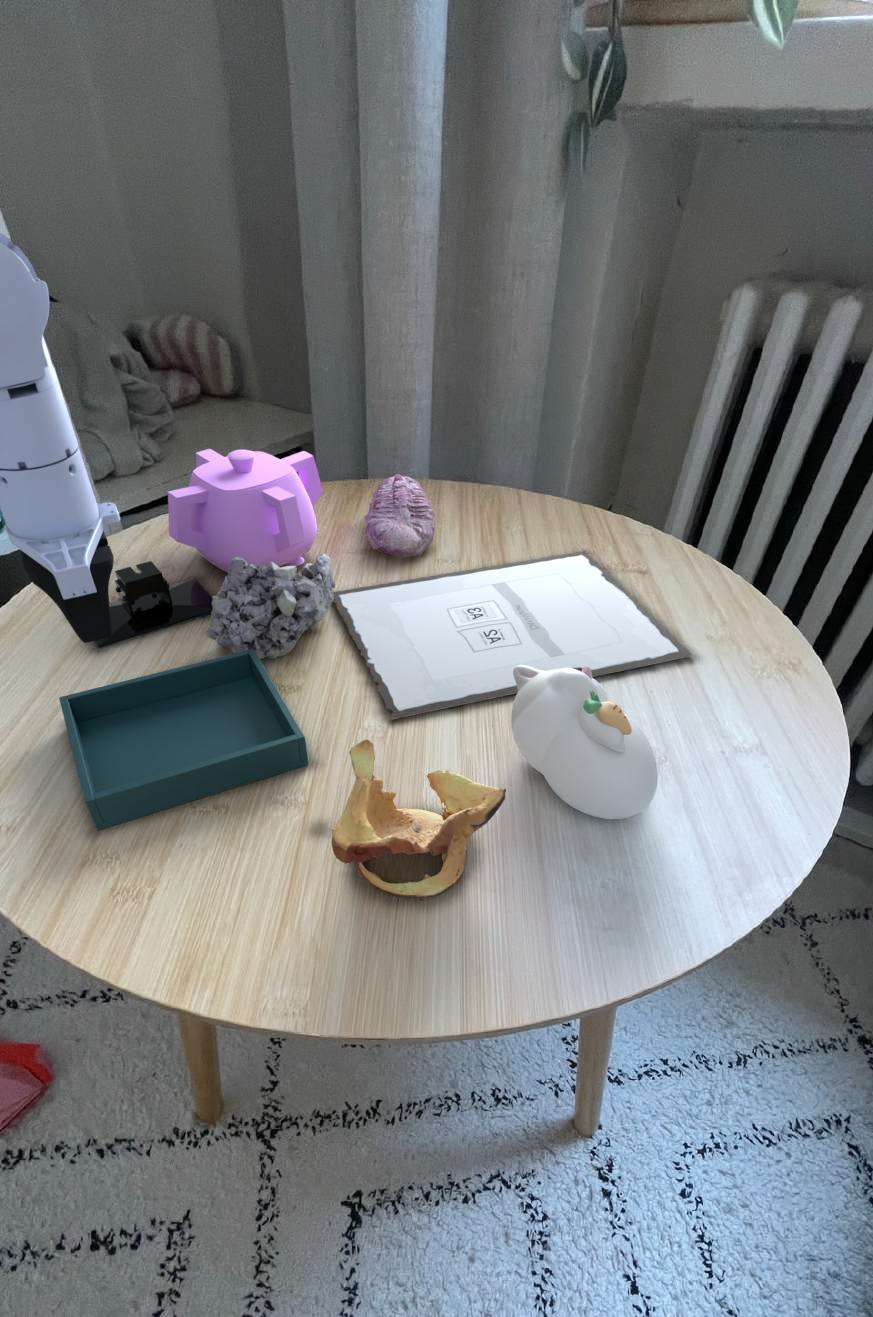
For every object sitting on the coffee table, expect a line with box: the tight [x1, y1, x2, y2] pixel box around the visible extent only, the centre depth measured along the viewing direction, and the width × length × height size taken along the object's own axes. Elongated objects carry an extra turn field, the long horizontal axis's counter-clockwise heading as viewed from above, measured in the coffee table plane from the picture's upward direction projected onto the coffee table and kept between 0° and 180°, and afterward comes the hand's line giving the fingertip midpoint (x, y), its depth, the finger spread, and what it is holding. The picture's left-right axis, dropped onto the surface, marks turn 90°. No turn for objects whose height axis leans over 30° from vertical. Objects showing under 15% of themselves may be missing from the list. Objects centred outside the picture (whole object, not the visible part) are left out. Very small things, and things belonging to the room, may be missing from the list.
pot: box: [167, 448, 324, 573], centre depth 81 cm, size 18×17×12 cm
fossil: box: [363, 473, 436, 558], centre depth 88 cm, size 8×14×5 cm, turn 4°
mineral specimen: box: [203, 552, 336, 660], centre depth 72 cm, size 12×9×10 cm
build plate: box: [93, 560, 213, 650], centre depth 75 cm, size 12×7×5 cm, turn 126°
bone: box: [331, 738, 507, 902], centre depth 52 cm, size 12×10×8 cm
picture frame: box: [332, 550, 694, 720], centre depth 76 cm, size 22×1×30 cm
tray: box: [58, 649, 309, 831], centre depth 62 cm, size 16×13×3 cm
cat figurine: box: [510, 665, 659, 820], centre depth 58 cm, size 10×8×15 cm
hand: (96, 635), depth 57 cm, fingers closed
